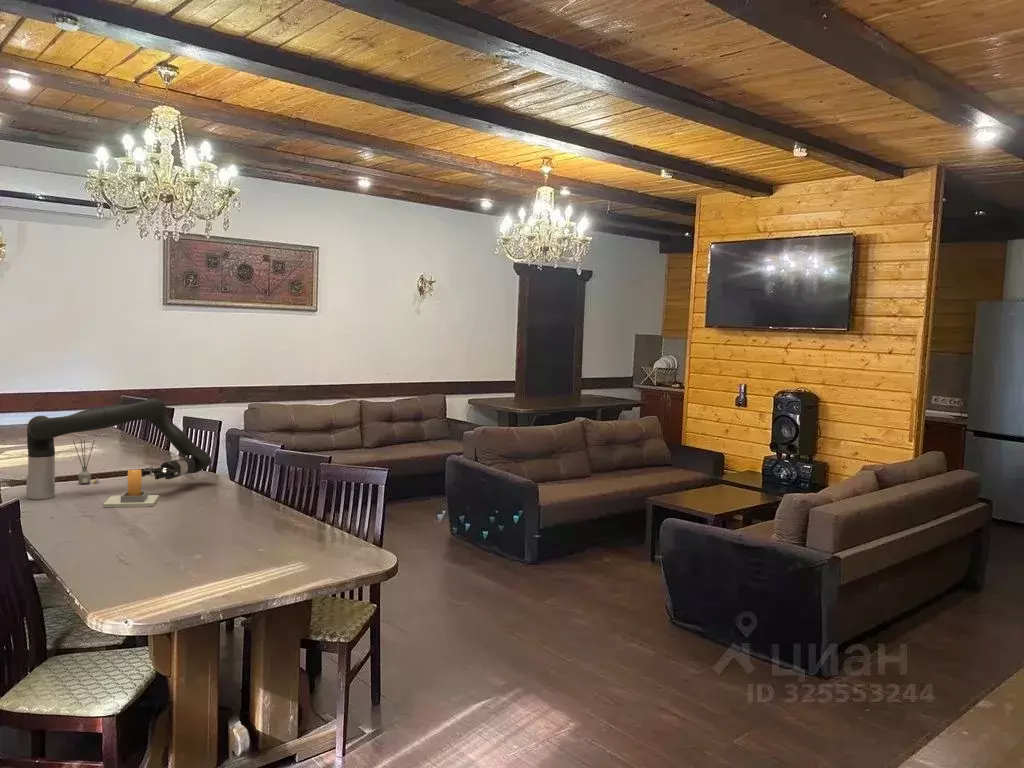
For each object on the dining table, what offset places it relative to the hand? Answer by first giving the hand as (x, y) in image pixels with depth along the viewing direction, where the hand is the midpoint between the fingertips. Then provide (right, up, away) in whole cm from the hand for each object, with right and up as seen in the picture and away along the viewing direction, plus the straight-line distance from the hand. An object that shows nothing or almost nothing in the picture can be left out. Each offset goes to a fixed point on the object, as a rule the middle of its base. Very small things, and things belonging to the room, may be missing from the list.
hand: (147, 475), depth 309 cm
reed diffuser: (-39, -7, +25) cm, 47 cm away
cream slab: (-4, -10, -5) cm, 12 cm away
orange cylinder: (-2, -9, -6) cm, 11 cm away
